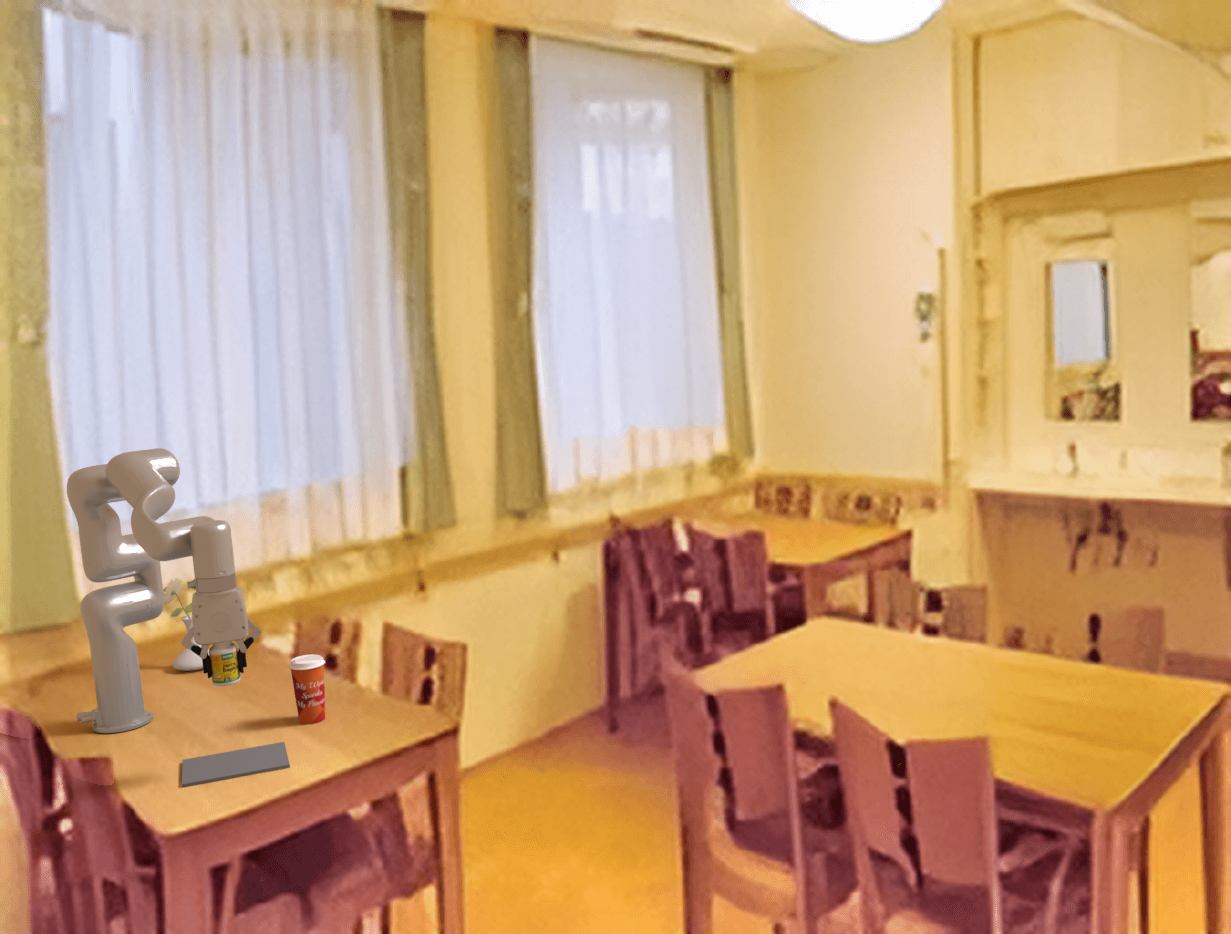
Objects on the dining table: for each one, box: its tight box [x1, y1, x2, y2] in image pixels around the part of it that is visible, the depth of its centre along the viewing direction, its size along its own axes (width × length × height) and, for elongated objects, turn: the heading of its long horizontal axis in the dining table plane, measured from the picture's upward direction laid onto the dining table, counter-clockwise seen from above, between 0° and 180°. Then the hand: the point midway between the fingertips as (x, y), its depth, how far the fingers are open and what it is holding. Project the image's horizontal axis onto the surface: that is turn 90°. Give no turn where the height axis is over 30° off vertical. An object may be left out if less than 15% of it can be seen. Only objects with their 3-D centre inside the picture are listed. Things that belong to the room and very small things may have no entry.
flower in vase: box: [163, 577, 210, 672], centre depth 294 cm, size 13×11×25 cm
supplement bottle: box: [208, 641, 241, 687], centre depth 221 cm, size 5×5×10 cm
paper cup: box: [288, 653, 326, 725], centre depth 248 cm, size 8×8×14 cm
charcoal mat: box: [181, 741, 291, 788], centre depth 225 cm, size 20×14×1 cm
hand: (225, 672), depth 221 cm, fingers closed on supplement bottle, 5 cm apart
